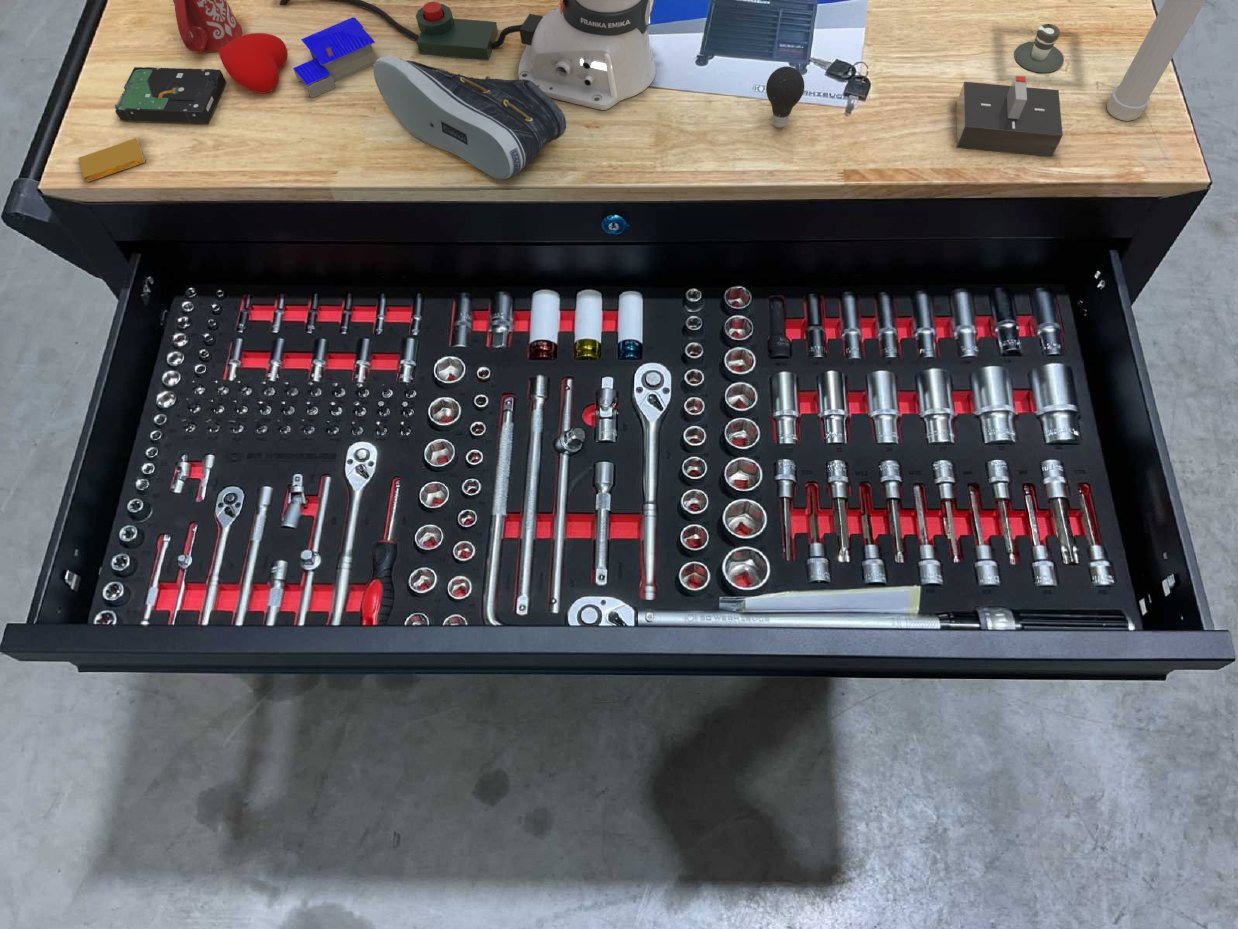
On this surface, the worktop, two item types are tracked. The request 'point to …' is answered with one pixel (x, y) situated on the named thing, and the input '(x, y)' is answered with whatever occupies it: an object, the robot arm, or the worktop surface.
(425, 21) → the button box
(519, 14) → the worktop surface
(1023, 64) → the grey disc with post
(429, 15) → the button
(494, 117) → the boat shoe
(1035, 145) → the lever switch box
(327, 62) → the house
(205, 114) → the disk drive
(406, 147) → the worktop surface
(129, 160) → the golden brown flat block
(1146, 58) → the pipe
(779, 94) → the light bulb
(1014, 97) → the grey switch knob
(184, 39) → the mug
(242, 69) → the heart
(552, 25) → the robot arm
